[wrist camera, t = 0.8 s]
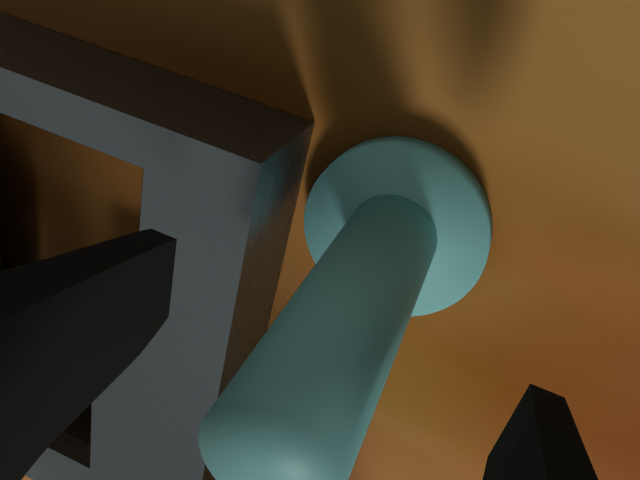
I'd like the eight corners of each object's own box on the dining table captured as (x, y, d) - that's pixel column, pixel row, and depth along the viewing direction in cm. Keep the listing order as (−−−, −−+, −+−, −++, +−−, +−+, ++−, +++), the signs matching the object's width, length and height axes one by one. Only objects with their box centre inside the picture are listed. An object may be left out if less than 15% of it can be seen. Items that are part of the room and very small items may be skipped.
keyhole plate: (231, 486, 24) (187, 560, 21) (-8, 369, 26) (-77, 422, 23) (314, 122, 16) (261, 163, 13) (-46, -4, 18) (-159, 7, 15)
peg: (454, 326, 17) (377, 622, 10) (298, 263, 18) (120, 491, 11) (523, 174, 14) (488, 422, 7) (336, 110, 15) (135, 271, 8)
